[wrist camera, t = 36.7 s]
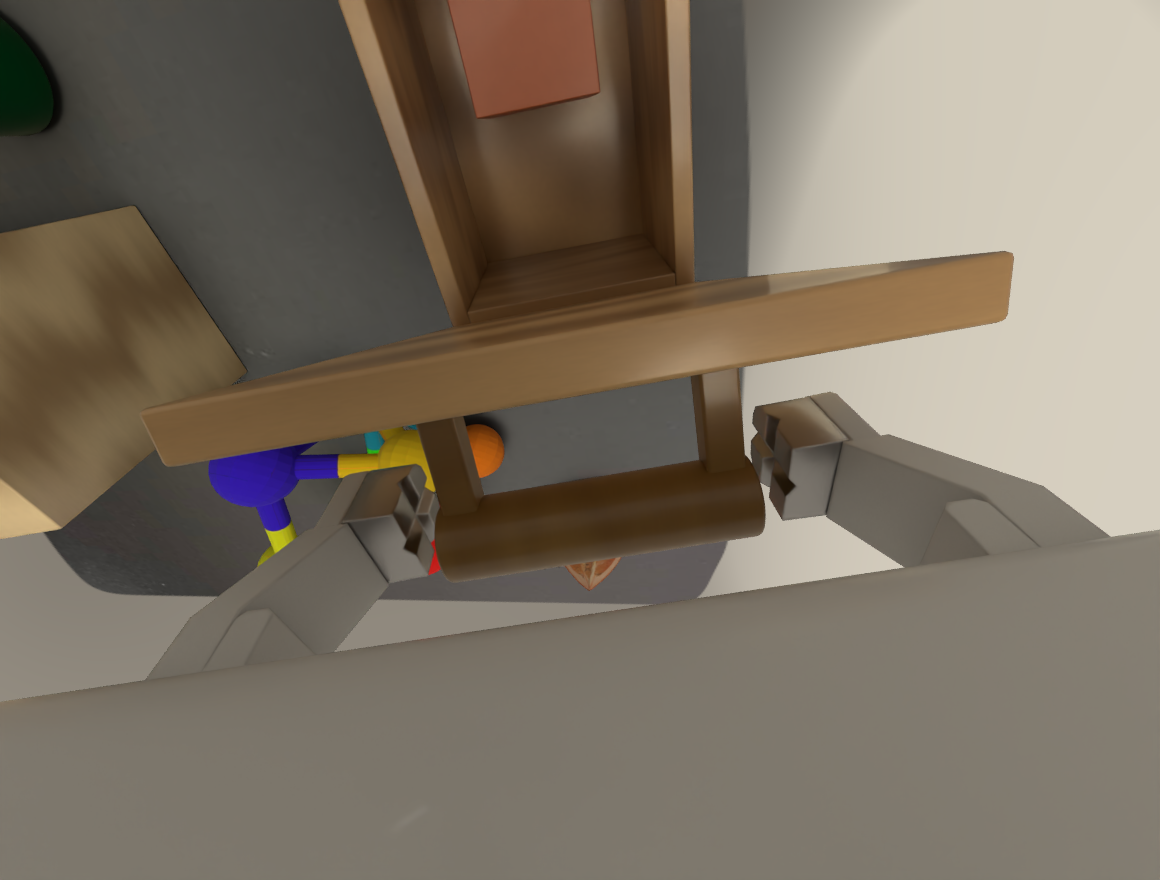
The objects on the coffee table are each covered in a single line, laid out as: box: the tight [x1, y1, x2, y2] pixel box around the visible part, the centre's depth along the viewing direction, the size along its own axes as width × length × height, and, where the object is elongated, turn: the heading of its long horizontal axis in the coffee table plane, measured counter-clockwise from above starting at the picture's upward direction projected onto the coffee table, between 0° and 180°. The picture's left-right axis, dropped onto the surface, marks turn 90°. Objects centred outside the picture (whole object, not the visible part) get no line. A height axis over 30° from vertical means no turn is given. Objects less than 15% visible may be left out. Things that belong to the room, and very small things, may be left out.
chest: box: [338, 0, 694, 327], centre depth 19 cm, size 14×11×9 cm
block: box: [447, 0, 600, 119], centre depth 18 cm, size 5×5×5 cm
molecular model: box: [209, 424, 504, 575], centre depth 27 cm, size 15×12×15 cm
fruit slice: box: [565, 557, 621, 591], centre depth 37 cm, size 8×7×5 cm
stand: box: [0, 206, 247, 539], centre depth 21 cm, size 10×10×14 cm
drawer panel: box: [140, 251, 1014, 583], centre depth 13 cm, size 14×11×5 cm
